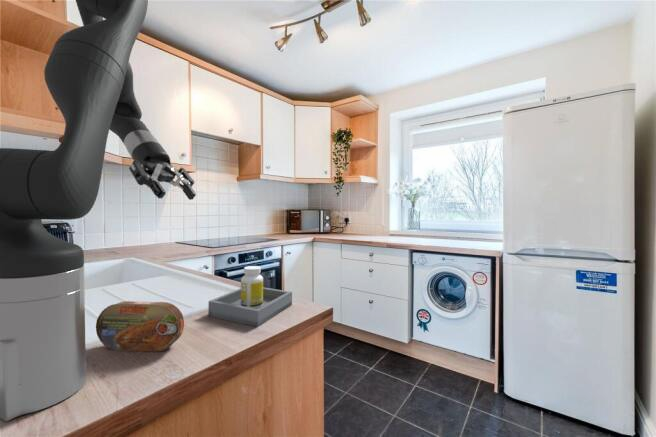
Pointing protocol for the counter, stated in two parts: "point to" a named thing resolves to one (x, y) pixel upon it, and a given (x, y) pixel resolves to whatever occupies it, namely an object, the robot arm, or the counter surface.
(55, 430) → the counter surface
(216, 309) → the tray
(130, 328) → the tin
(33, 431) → the counter surface
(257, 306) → the supplement bottle
